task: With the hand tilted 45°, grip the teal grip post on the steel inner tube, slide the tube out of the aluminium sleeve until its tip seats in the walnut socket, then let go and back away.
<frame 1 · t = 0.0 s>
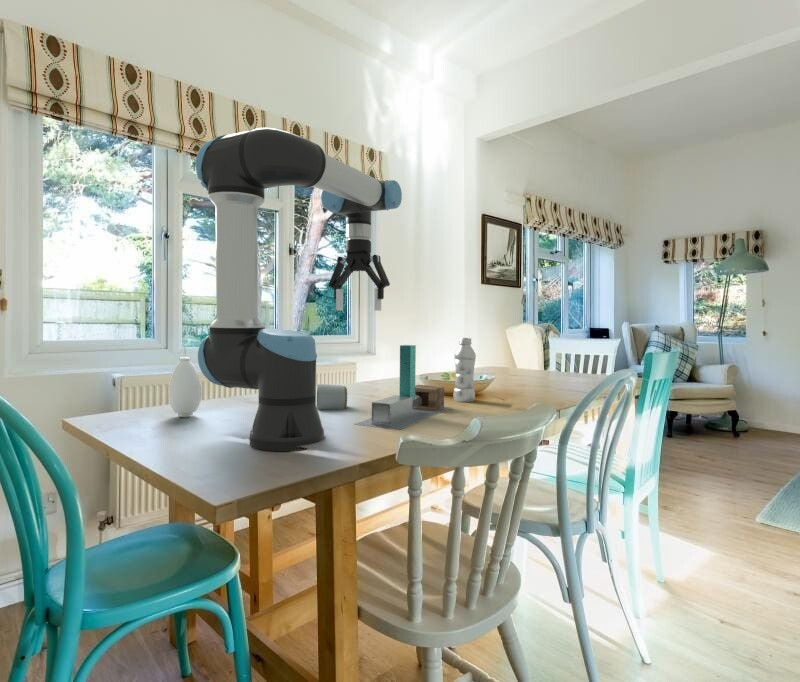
hand: (358, 310, 155), 28 cm above the table, tool pointing down, fingers open, 13 cm apart
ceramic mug: (330, 411, 142), on the table
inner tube: (403, 378, 129), point 11 cm above the table, slide at 0.0 cm
plastic bottle: (464, 404, 155), on the table
white vase: (185, 417, 131), on the table
sleeve: (392, 420, 124), resting on base board
base board: (407, 418, 131), on the table
socket block: (426, 407, 142), resting on base board
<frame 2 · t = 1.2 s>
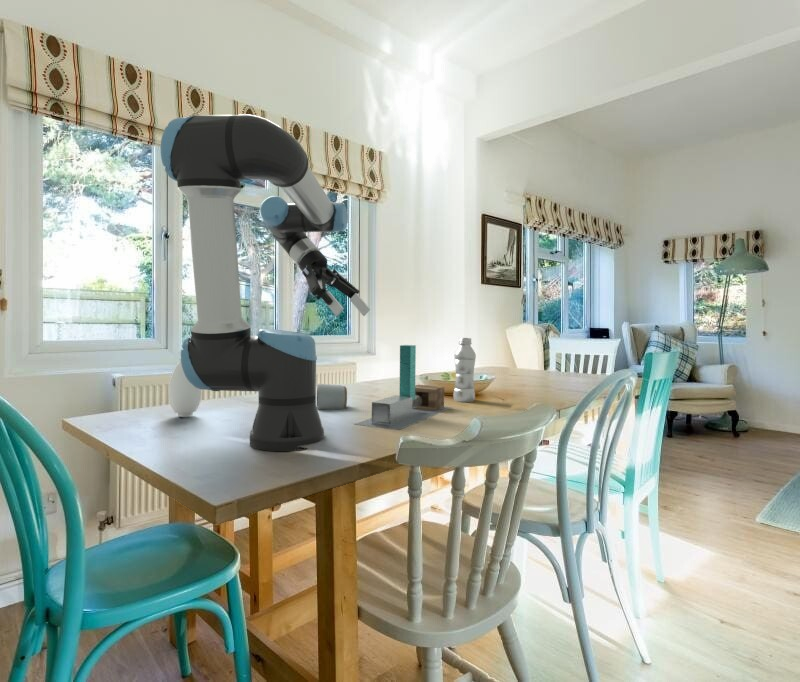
hand: (354, 312, 138), 27 cm above the table, tool tilted 45°, fingers open, 13 cm apart
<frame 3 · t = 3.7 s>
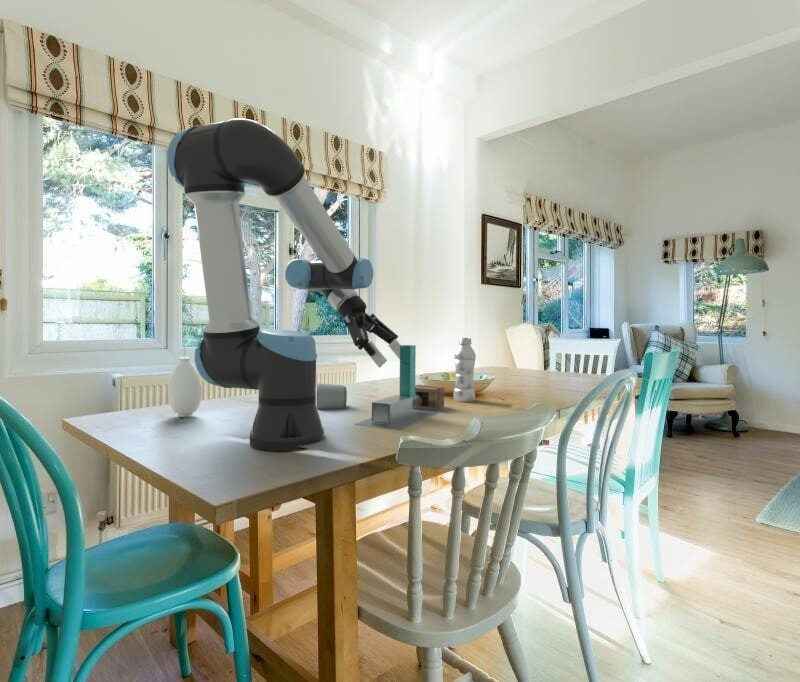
hand: (395, 361, 134), 14 cm above the table, tool tilted 45°, fingers open, 13 cm apart
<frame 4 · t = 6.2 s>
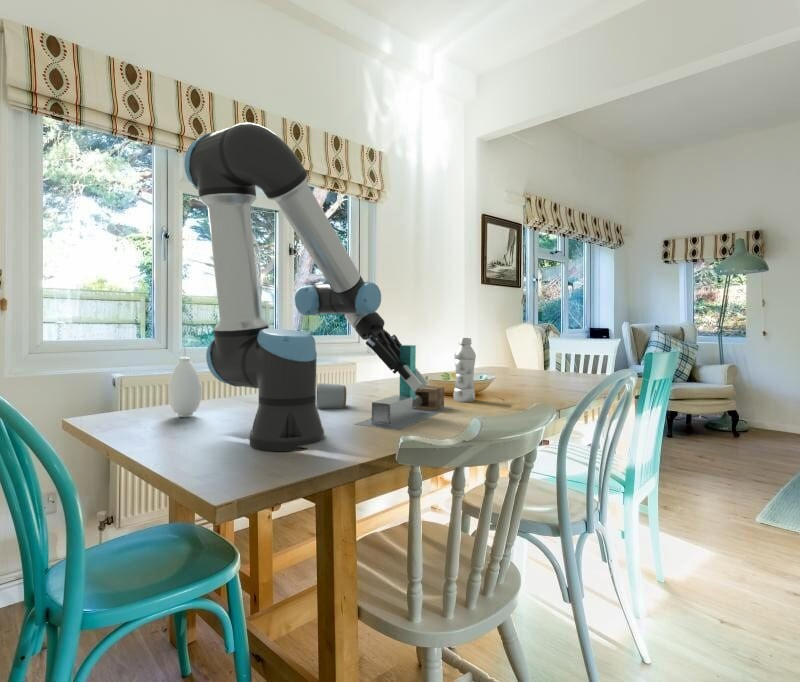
hand: (421, 386, 129), 9 cm above the table, tool tilted 45°, fingers closed on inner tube, 3 cm apart
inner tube: (403, 378, 129), point 11 cm above the table, slide at 0.0 cm, touching gripper
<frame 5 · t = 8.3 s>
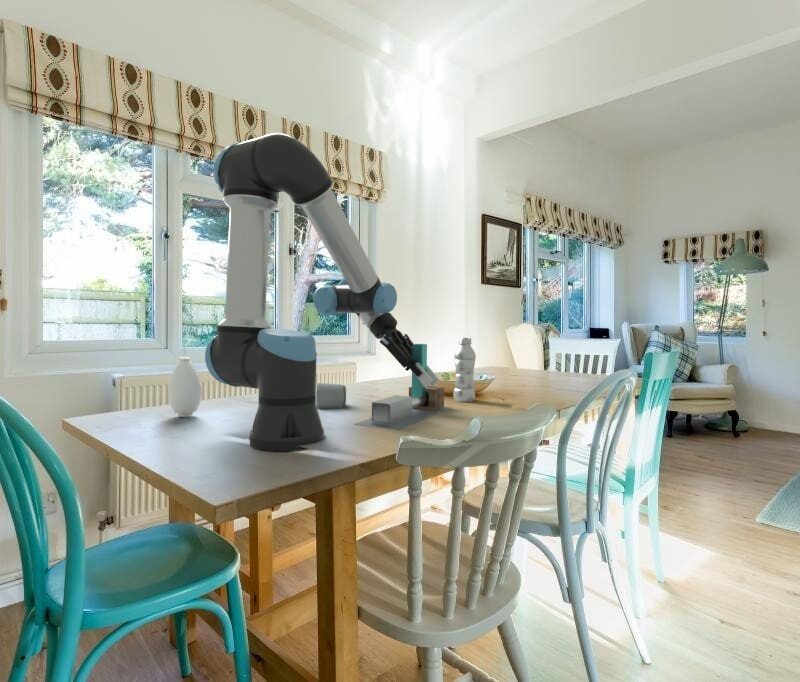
hand: (432, 383, 136), 9 cm above the table, tool tilted 45°, fingers closed on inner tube, 3 cm apart
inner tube: (415, 376, 135), point 11 cm above the table, slide at 7.2 cm, touching gripper
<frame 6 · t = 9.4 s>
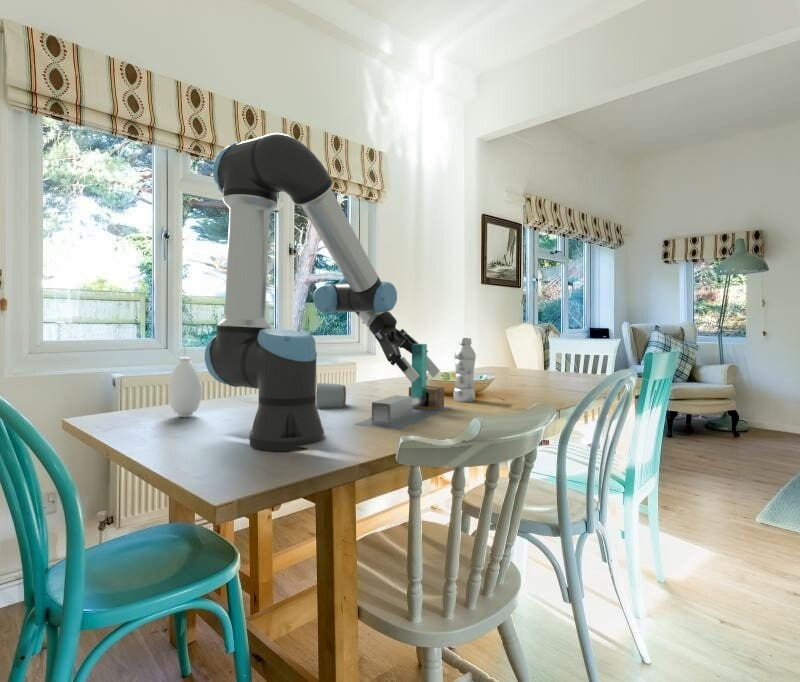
hand: (426, 376, 137), 10 cm above the table, tool tilted 45°, fingers open, 13 cm apart
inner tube: (415, 376, 135), point 11 cm above the table, slide at 7.0 cm
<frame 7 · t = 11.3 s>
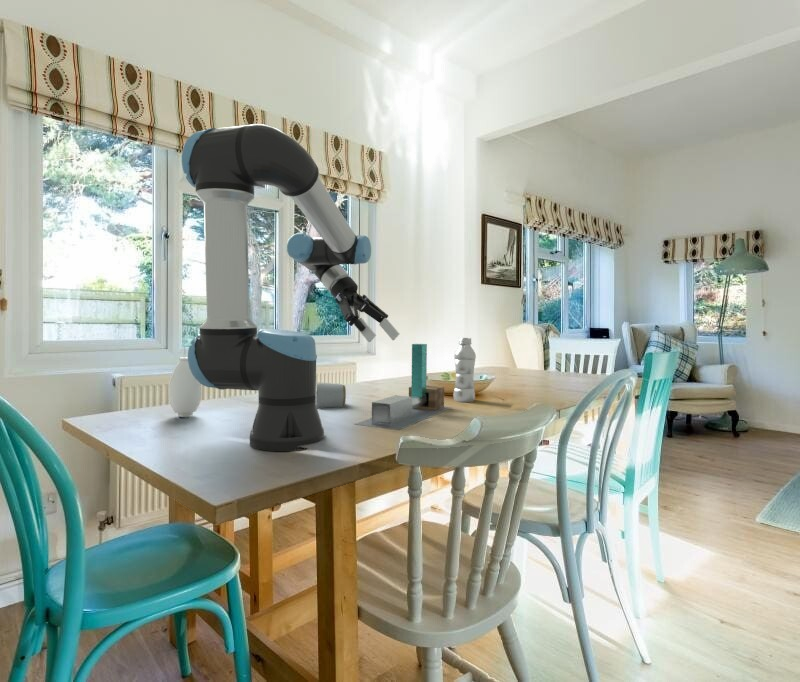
hand: (384, 338, 142), 20 cm above the table, tool tilted 45°, fingers open, 13 cm apart
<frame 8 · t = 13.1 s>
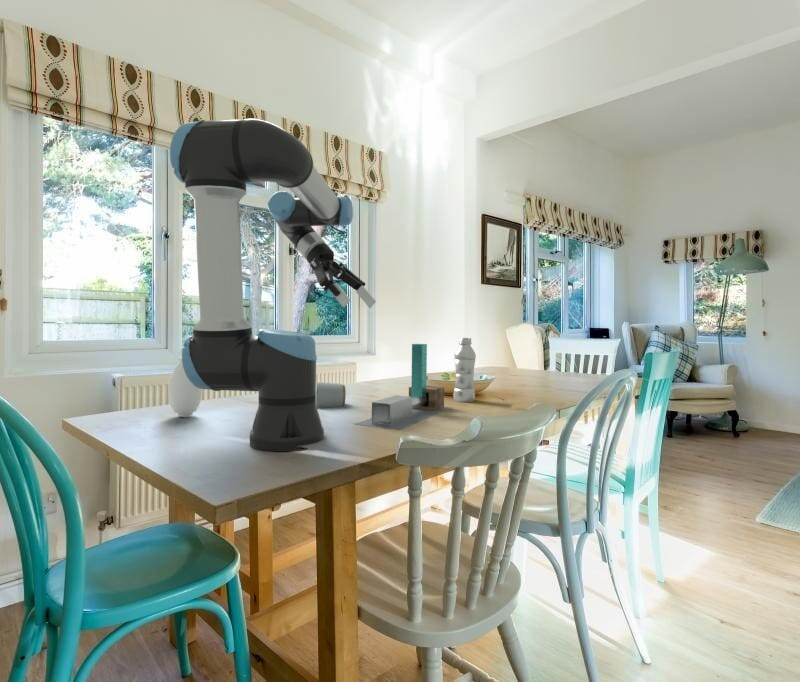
hand: (360, 304, 141), 30 cm above the table, tool tilted 45°, fingers open, 13 cm apart
at the end: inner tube slide at 7.0 cm; the gripper is holding nothing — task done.
